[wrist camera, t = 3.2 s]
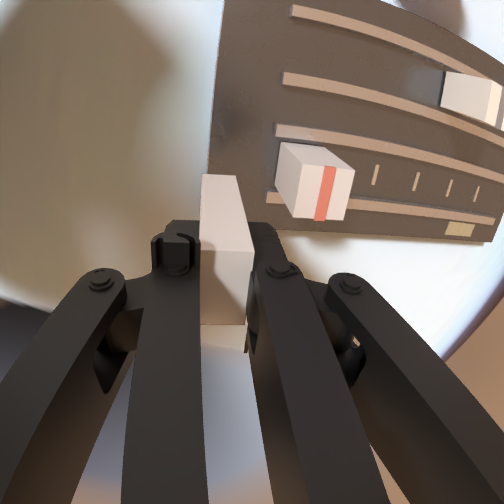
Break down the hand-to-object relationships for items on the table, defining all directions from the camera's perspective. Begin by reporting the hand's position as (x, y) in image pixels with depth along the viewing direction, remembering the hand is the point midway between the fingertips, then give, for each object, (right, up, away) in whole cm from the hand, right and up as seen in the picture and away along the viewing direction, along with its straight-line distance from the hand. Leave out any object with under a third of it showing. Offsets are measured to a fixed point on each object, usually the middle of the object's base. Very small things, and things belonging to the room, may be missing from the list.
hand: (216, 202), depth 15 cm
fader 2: (+17, +10, +4) cm, 21 cm away
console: (+14, +8, +7) cm, 18 cm away
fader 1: (+5, +3, +6) cm, 9 cm away
